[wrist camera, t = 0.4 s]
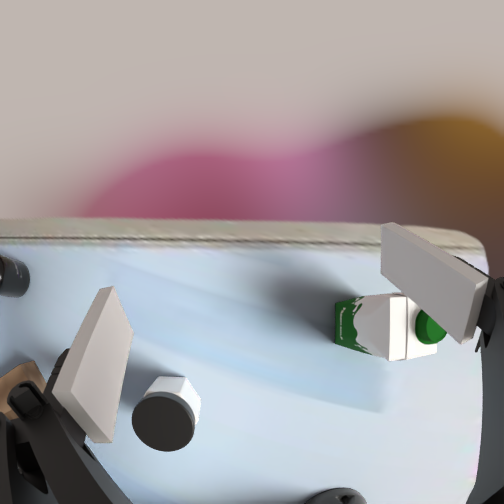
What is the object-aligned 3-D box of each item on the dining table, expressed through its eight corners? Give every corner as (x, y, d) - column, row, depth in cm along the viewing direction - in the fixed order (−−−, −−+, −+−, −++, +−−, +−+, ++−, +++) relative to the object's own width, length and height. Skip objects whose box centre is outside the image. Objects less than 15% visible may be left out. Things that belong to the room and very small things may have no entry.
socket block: (84, 441, 40) (73, 451, 35) (33, 462, 36) (22, 471, 32) (34, 360, 41) (19, 364, 36) (-11, 391, 38) (-25, 395, 33)
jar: (149, 419, 42) (132, 449, 31) (145, 374, 44) (124, 394, 32) (202, 421, 43) (199, 453, 32) (200, 376, 45) (195, 397, 33)
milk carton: (375, 345, 49) (449, 358, 30) (328, 349, 48) (392, 370, 29) (375, 296, 51) (450, 288, 31) (329, 297, 50) (394, 290, 30)
